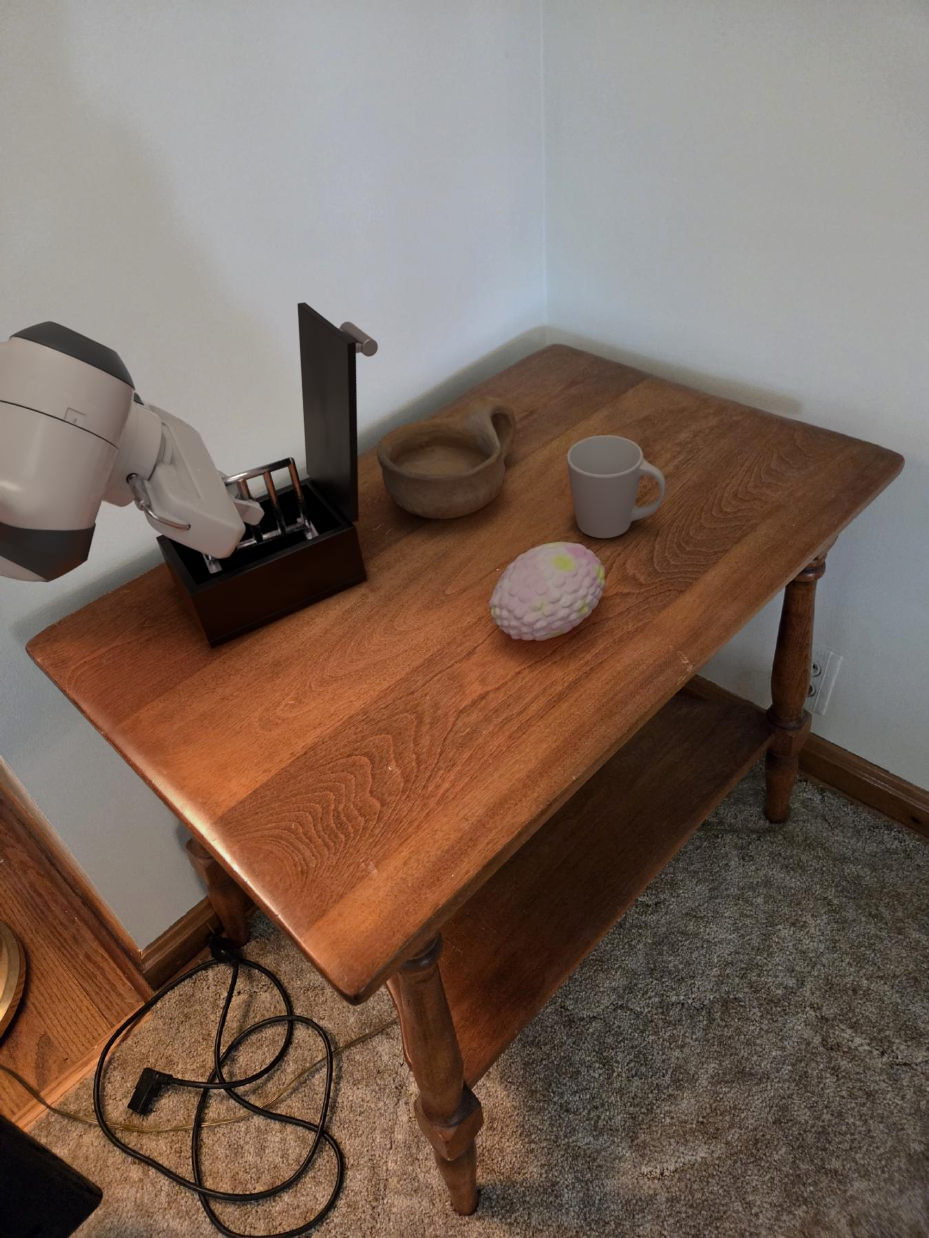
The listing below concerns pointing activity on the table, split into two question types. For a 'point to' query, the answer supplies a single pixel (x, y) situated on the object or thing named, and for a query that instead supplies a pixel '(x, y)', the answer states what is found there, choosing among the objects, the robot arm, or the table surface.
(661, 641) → the table surface
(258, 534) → the rack
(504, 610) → the decorative item
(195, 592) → the oven
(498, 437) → the bowl
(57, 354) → the robot arm
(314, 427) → the oven door
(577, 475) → the cup
